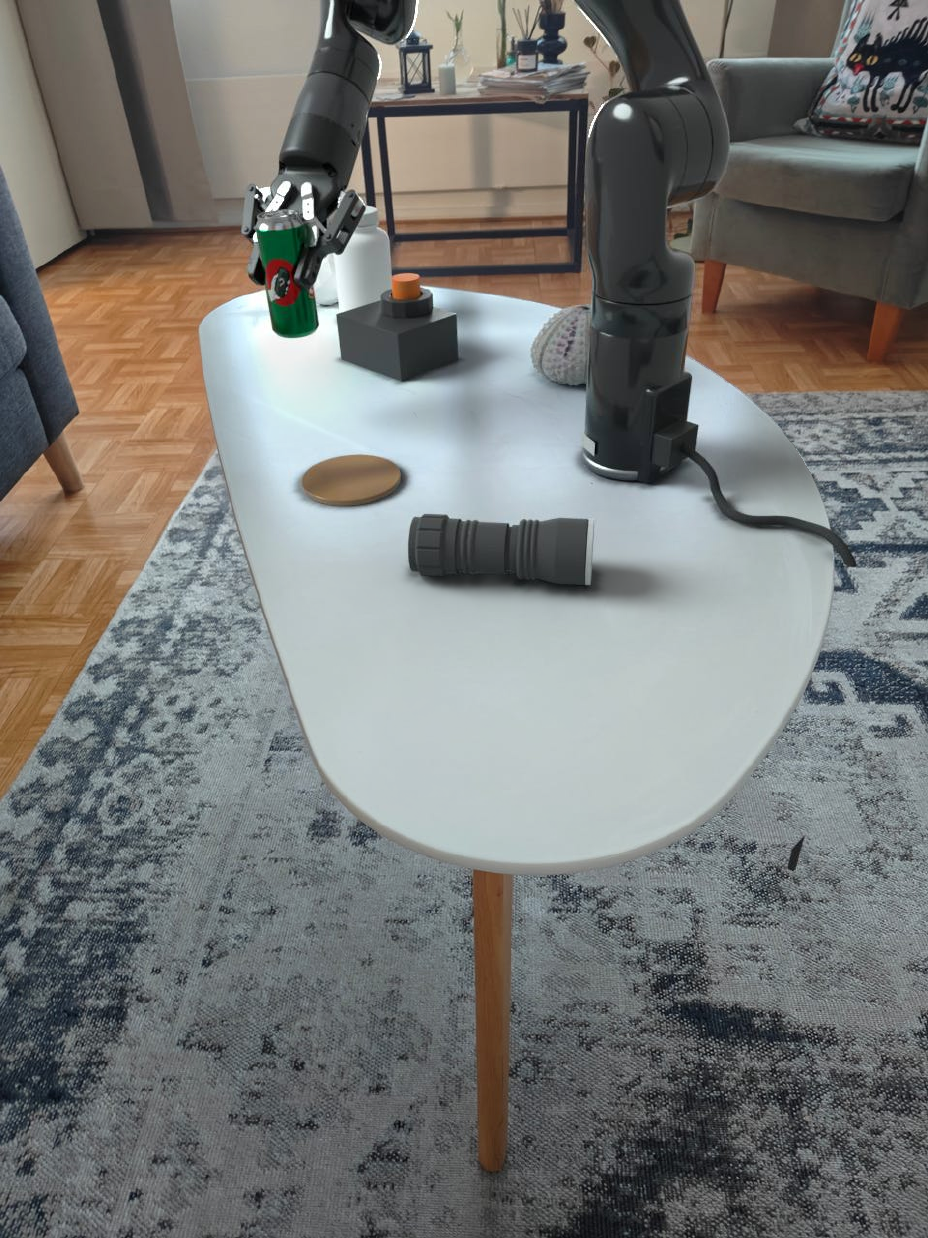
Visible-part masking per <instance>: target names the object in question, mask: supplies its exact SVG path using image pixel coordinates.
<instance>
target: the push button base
mask: <svg viewBox="0 0 928 1238" xmlns="http://www.w3.org/2000/svg"><path fill="white" fill-rule="evenodd" d="M420 292H421V297H418V298H415V299H406V300H404V299H395V298H393V296H392V289H391V290H387V291H385V292H384V293H382V294H381V296H380V297H381V300H379V301H376V302H373V303H370V304H367V305H364V306H361V307H357V308H354V309H351V310H348V311H345V312H342V313H340V312H339V313H336V314H335V316H336V325H337V333H338V334H337V335H338V342H339V350H340V352H339V353H340V359H341V361H344V362H346V363H349V364H353V365H355V366H358V367H361V368H363V369H366V370H369V371H371V372H373V373H376V374H379V375H381V376H384V377H386V378H390V379H393V380H395V381H398V382H401V383H402V382H405V381H407V380H411V379H413V378H415V377H418V376H421V375H423V374H425V373H428V372H430V371H433V370H435V369H439V368H442V367H444V366H445V365H448V364H451V363H453V362H457V361H458V360H459V339H458V337H459V336H458V314H457V313H455V312H451V311H448V310H445V309H442V308H438V307H434V294H433V292H432V290H431V289H428V288H425V287H421V286H420Z"/></svg>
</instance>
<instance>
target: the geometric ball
mask: <svg viewBox="0 0 928 1238" xmlns="http://www.w3.org/2000/svg"><path fill="white" fill-rule="evenodd" d="M314 292H315V299H316V305H325V306H332V305H334V304H336V303H337V302H338V303H339V301H338V291H337V281H336V271H335V261H334V253H331V254H328V255H327V257H326V258H324V259H323V260H322V263H321V267H320V270H319V272H318V276H317V280H316V282H315V283H314Z"/></svg>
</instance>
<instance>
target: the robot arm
mask: <svg viewBox="0 0 928 1238" xmlns="http://www.w3.org/2000/svg"><path fill="white" fill-rule="evenodd" d="M571 1H572V3H574V5H575V6H576V7H577V8H578V9H579V10H580V11H581V13H582V14H583V15H584V16H585V17H586V19H587V20H589V22H590V23H591V24H592V25H593V26H594V28H595V29H596V30H597V31H598V33H599V34H600V35H601V36H602V37H603V39H604V40H605V41H606V43H607V44H608V45H609V47H610V48H611V50H612V52H613V54H614V55H615V57H616V60H617V62H618V64H619V66H620V67H621V70H622V72H623V75H624V78H625V81H626V83H627V85H628V88H629V91H627V92H623V93H620V94H617V95H615V96H613V97H611V98H609V99H608V100H607V101H606V102H604V104H602V105H601V107H600V108H599V110H598V112H597V113H596V115H595V116H594V119H593V121H592V123H591V126H590V129H589V133H588V137H587V143H586V149H585V161H584V162H585V163H584V222H585V223H584V244H585V253H586V258H587V261H588V265H589V268H590V273H591V292H590V304H591V310H590V328H589V347H588V367H587V385H586V387H585V388H586V389H585V407H584V408H585V409H584V428H583V429H584V430H583V432H584V433H582V436H581V437H582V439H581V441H582V442H581V447H582V451H581V461H582V463H583V465H584V466H585V467H586V468H587V469H588V470H590V471H591V472H593V473H595V474H596V475H598V476H601V477H605V478H609V479H613V480H620V481H638V482H641V483H643V484H649V483H651V482H654V480H656V479H658V478H660V477H661V476H662V475H665V474H667V473H668V472H669V471H671V470H673V469H675V468H676V467H678V466H680V465H682V464H683V461H685V460H686V459H688V458H689V459H690V460H691V461H693V462H694V464H696V465H697V466H698V467H699V468H700V469H701V470H702V471H703V473H704V474H705V476H706V477H707V479H708V482H709V486H710V492H711V494H712V497H713V499H714V500H715V502H716V504H717V506H718V508H719V509H720V511H721V513H722V514H723V515H724V516H725V517H727V518H728V519H731V520H733V521H735V522H737V523H741V524H743V525H750V526H786V527H790V528H794V529H798V530H801V531H805V532H808V533H811V534H814V535H816V536H819V537H821V538H823V539H825V540H826V541H827V542H829V544H831V546H833V548H834V549H835V550H836V551H837V553H838V555H839V556H840V558H841V560H842V562H843V564H844V565H845V566H847V567H849V568H857V567H858V564H857V561H856V559H855V557H854V555H853V553H852V551H851V550H850V548H849V547H848V545H847V543H846V542H845V541H844V540H843V538H841V537H840V536H839V535H838V534H837V533H836V532H835V531H833V530H831V528H828V527H826V526H824V525H822V524H818V523H814V522H811V521H809V520H808V521H807V520H804V519H801V518H798V517H793V516H788V515H751V514H746V513H743V512H741V511H738V510H736V509H734V508H733V507H731V505H730V504H729V503H728V501H727V499H726V498H725V495H724V494H723V492H722V489H721V485H720V479H719V476H718V474H717V472H716V470H715V468H714V467H713V466H712V465H711V463H709V461H708V460H707V459H706V457H704V456H703V455H702V454H700V453H699V452H698V451H696V448H697V442H698V434H699V426H700V425H699V424H698V423H695V422H691V421H688V415H689V408H690V407H689V406H690V401H691V400H690V399H691V392H692V391H691V390H692V383H693V375H692V373H690V372H688V371H685V368H686V367H685V366H686V357H687V349H688V341H689V332H690V331H689V330H690V323H691V314H692V306H693V296H694V289H695V281H696V273H697V272H696V263H695V260H694V258H693V257H692V256H691V255H690V254H689V253H688V252H686V251H683V250H681V249H678V248H674V247H671V246H669V245H668V240H667V223H668V222H667V218H668V217H667V216H668V215H667V214H668V209H671V208H676V207H679V206H684V205H687V204H691V203H694V202H697V201H700V200H702V199H704V198H707V197H708V196H709V195H711V194H712V193H713V192H714V191H715V190H716V189H717V188H718V186H719V185H720V183H722V181H723V178H724V176H725V174H726V172H727V169H728V168H727V167H728V164H729V161H730V160H729V159H730V152H731V151H730V148H731V140H730V139H731V138H730V129H729V123H728V119H727V114H726V112H725V108H724V105H723V102H722V100H721V97H720V95H719V92H718V89H717V87H716V84H715V82H714V80H713V78H712V75H711V73H710V71H709V67H708V66H707V63H706V61H705V59H704V57H703V54H702V52H701V49H700V47H699V45H698V43H697V40H696V38H695V35H694V33H693V30H692V28H691V26H690V24H689V21H688V19H687V16H686V13H685V11H684V8H683V5H682V2H681V1H680V0H571ZM418 4H419V0H319V26H318V34H317V35H318V36H317V40H316V45H315V49H314V54H313V57H312V59H311V62H310V65H309V66H310V67H309V69H308V72H307V76H306V79H305V82H304V84H303V86H302V88H301V90H300V92H299V94H298V96H297V98H296V102H295V105H294V107H293V111H292V114H291V117H290V120H289V123H288V126H287V129H286V133H285V135H284V139H283V141H282V144H281V148H280V153H279V154H278V172H277V175H276V177H275V178H274V179H273V180H272V181H271V184H270V186H266V187H261V188H258V186H257V185H256V184H255V183H250V184H248V185H247V186H246V188H245V195H244V204H243V211H242V221H241V228H240V232H241V234H242V235H243V236H244V238H246V239H247V241H249V242H250V243H251V244H252V246H253V247H252V250H251V253H250V257H249V260H248V263H247V266H246V273H247V276H248V278H249V280H251V281H252V282H253V283H254V284H255V285H256V286H259V287H260V286H262V287H263V286H264V287H265V284H264V278H263V272H262V266H261V260H260V254H259V248H258V243H257V237H256V231H255V227H256V224H257V221H258V219H257V215H259V214H261V213H263V212H267V211H272V210H283V209H288V210H296V211H299V212H300V217H301V219H302V220H303V221H304V223H305V227H306V241H307V245H308V247H307V248H306V247H303V250H302V253H301V256H300V260H299V263H298V266H297V269H296V272H295V276H294V282H295V284H296V285H297V286H298V287H299V288H300V289H301V290H306V291H309V290H310V288H311V285H312V286H313V285H314V283H315V282H316V280H317V276H318V272H319V270H320V267H321V263H322V260H323V259H324V258H326V257H327V255H328V254H331V253H333V254H334V253H335V254H336V255H340V254H342V253H343V252H344V250H345V248H346V246H347V244H348V242H349V240H350V239H351V237H352V235H353V233H354V231H355V229H356V227H357V225H358V223H359V222H360V220H361V218H362V216H363V214H364V212H365V210H366V206H367V205H365V203H364V200H362V198H361V197H360V195H359V194H358V193H357V192H356V190H355V189H349V190H347V189H348V187H349V184H350V181H351V177H352V174H353V171H354V168H355V165H356V161H357V158H358V155H359V152H360V148H361V145H362V142H363V139H364V135H365V133H366V132H365V131H366V127H367V122H368V115H369V111H370V108H371V105H372V101H373V98H374V95H375V93H376V89H377V85H378V82H379V78H380V75H381V69H382V61H381V58H380V55H379V52H378V51H377V49H376V47H374V45H373V43H371V42H370V41H369V40H368V39H367V38H366V37H368V38H370V39H372V40H374V41H377V42H378V43H381V44H383V45H386V46H396V45H398V44H400V43H402V42H403V41H405V39H407V38H408V36H409V35H410V33H411V32H412V30H413V27H414V25H415V22H416V18H417V14H418ZM364 36H366V37H364ZM346 190H347V191H346ZM333 214H334V215H333ZM332 215H333V217H332V219H331V221H330V217H331V216H332ZM340 230H341V231H340ZM339 232H340V233H339ZM338 234H339V235H338ZM337 236H338V237H337ZM805 838H806V834H803V836H802V837H801V838H800V840H798V842H797V843H796V844H795V845H794V846H793V848H792V849H791V851H790V854H789V858H788V862H787V866H786V868H787V867H788V869H789V870H792V871H794V870H795V869H796V870H797V866H798V862H799V858H800V854H801V851H802V848H803V844H804V840H805ZM796 870H795V871H796Z"/></svg>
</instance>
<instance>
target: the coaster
mask: <svg viewBox="0 0 928 1238" xmlns="http://www.w3.org/2000/svg"><path fill="white" fill-rule="evenodd" d="M300 481H301V483H300V484H301V489H302V492H303V494H305V496H307V498H309V499H311V500H313V501H315V502H316V503H319V504H324V505H329V506H337V507H338V506H339V507H348V506H349V507H350V506H359V505H360V506H361V505H366V504H370V503H373V502H376V501H379V500H381V499H383V498H385V497H388V496H389V495H391V494H393V493H394V492H395V491H396V490H397V489H398V487H399V486H400V485H401V481H402V473H401V470H400V468H399V467H398V465H397V464H396V463H395V462H393V461H391V460H390V459H387V458H385V457H381V456H378V455H370V454H347V455H339V456H335V457H331V458H328V459H324V460H322V461H319V462H318V463H315V464H313V465H312V466H311V467H309V468H308V469H307V470H306V471H305V472H304V473H303V475H302V477H301V480H300Z"/></svg>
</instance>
